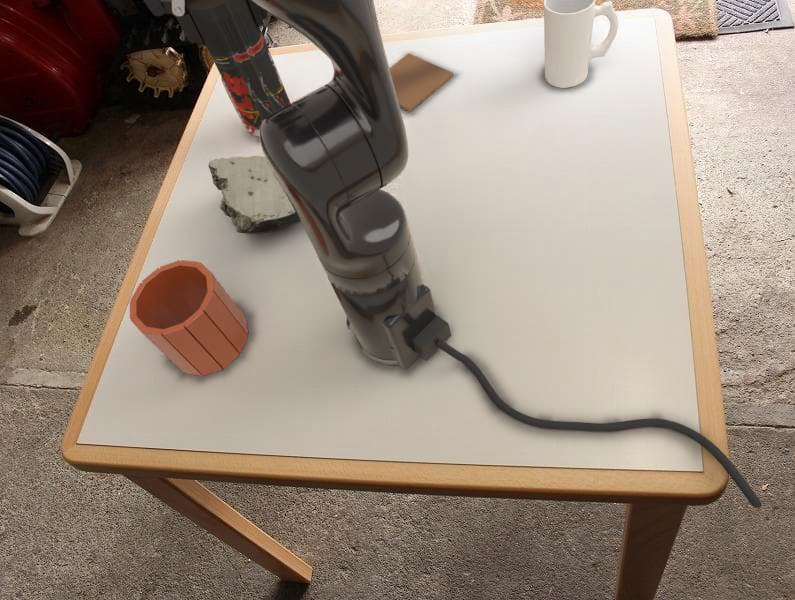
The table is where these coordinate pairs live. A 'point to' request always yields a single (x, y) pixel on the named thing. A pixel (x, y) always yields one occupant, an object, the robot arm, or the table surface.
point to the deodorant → (240, 57)
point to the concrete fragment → (251, 194)
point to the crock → (189, 317)
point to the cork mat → (416, 80)
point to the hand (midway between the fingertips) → (231, 31)
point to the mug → (573, 39)
